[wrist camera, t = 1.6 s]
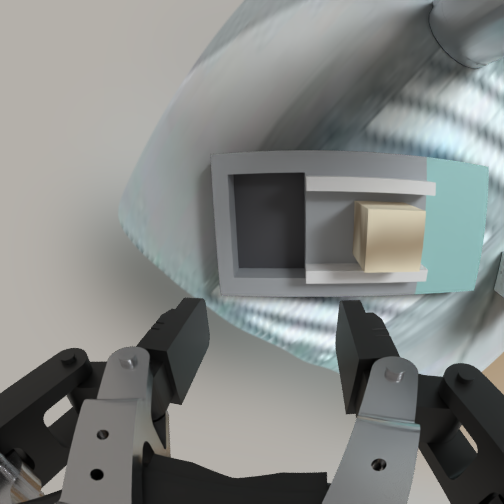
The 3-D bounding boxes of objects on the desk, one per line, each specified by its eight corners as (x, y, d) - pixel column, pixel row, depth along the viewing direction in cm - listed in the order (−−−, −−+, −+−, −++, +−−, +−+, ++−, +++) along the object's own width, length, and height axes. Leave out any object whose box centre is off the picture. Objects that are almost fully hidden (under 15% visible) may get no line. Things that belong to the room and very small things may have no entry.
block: (354, 200, 24) (368, 209, 20) (403, 202, 24) (426, 211, 19) (352, 253, 26) (364, 272, 21) (400, 253, 25) (419, 271, 20)
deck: (218, 155, 28) (203, 153, 23) (474, 165, 24) (499, 168, 19) (227, 283, 32) (215, 304, 27) (462, 280, 28) (482, 297, 23)
